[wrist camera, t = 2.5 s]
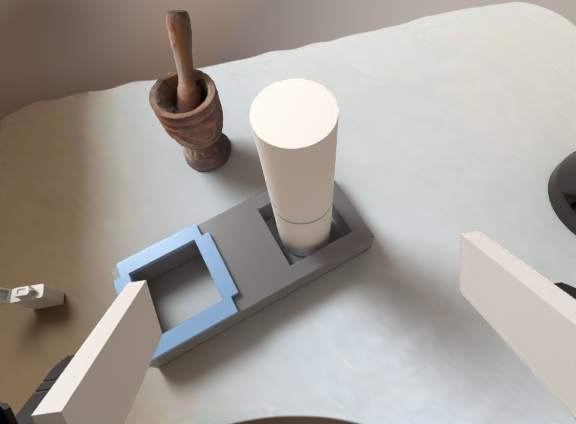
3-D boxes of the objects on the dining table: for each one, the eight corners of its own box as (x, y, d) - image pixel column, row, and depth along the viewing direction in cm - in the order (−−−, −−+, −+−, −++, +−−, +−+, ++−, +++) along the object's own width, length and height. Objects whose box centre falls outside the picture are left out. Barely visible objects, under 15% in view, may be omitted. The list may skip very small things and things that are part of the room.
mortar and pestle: (176, 122, 63) (119, 14, 45) (227, 110, 63) (190, -3, 45) (185, 179, 58) (125, 84, 40) (240, 165, 58) (205, 64, 40)
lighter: (64, 291, 52) (23, 275, 44) (63, 304, 51) (21, 289, 44) (13, 300, 52) (-37, 285, 44) (11, 313, 51) (-40, 300, 44)
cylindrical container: (314, 201, 55) (311, 66, 32) (340, 241, 52) (355, 124, 29) (270, 223, 54) (235, 100, 31) (294, 265, 51) (273, 163, 28)
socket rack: (321, 176, 56) (321, 158, 52) (370, 247, 51) (375, 234, 47) (126, 278, 52) (108, 267, 47) (158, 367, 46) (141, 365, 42)
